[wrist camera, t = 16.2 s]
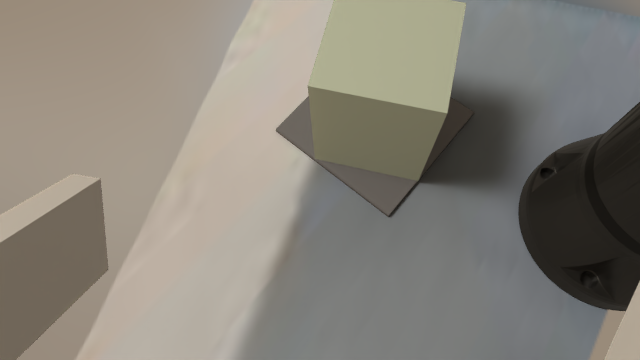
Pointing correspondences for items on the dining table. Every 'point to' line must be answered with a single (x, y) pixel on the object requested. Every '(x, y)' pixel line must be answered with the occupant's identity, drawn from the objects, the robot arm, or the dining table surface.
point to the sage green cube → (384, 82)
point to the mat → (366, 183)
